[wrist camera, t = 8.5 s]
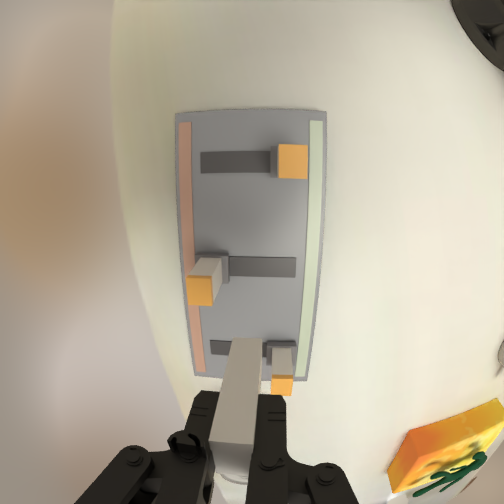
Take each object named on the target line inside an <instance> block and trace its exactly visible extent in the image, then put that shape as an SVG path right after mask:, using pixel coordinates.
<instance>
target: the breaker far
mask: <svg viewBox="0 0 504 504" xmlns="http://www.w3.org/2000/svg"><path fill="white" fill-rule="evenodd" d="M296 349H297V344H296V342H267V355H266V366H271V395H282V396H291V393H292V385H293V368H292V366H295V358H296Z"/></svg>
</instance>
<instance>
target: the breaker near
mask: <svg viewBox="0 0 504 504" xmlns="http://www.w3.org/2000/svg"><path fill="white" fill-rule="evenodd" d="M307 173H308V145H295V144H279V145H278V146H271V152H270V178H292V179H307Z"/></svg>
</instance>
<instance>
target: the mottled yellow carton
mask: <svg viewBox="0 0 504 504" xmlns="http://www.w3.org/2000/svg"><path fill="white" fill-rule="evenodd" d="M503 427H504V407H503V406H502V405H501V403H500V402H499V400H498V399H497V398H496V399H494V400H491V401H489V402H487V403H485V404H483V405H480V406H478V407H476V408H473V409H471V410H469V411H466V412H463V413H461V414H458V415H456V416H453V417H450V418H447V419H445V420H442V421H439V422H436V423H433V424H429V425H426V426H423V427H419V428H416V429H412V430H410V431H409V432H408V434H407V436H406V438H405V440H404V442H403V443H402V445H401V447H400V449H399V451H398V453H397V455H396V456H395V458H394V460H393V462H392V463H391V465H390V467H389V468H388V470H387V473H388V477H389V481H390V485H391V489H392V493H397V492H401V491H404V490H407V489H411V488H414V487H417V486H420V485H423V484H426V483H428V482H431V481H434V480H436V479H439V478H441V477H443V478H442V479H440V480H439V481H437V482H435V483H433V484H431V485H429V486H427V487H425V488H423V489H420V490H418V491H416V492H415V493H414V494H413V497H418V496H420V495H422V494H424V493H426V492H428V491H429V490H431V489H433V488H435V487H437V486H439V485H441V484H444V483H447V482H451V481H453V482H451V483H450V484H448V485H447V486H445V487H444V488H443V489H441V490H440V491H439V492H442V491H444V490H445V489H447V488H448V487H449V486H451V485H453V484H454V483H456V482H458V481H459V480H461V479H462V478H463V477H464V476H465V475H467V474H468V473H469V472H470V471H472V470H476V469H478V468H479V467H480V466H482V465H483V464H484V462H485V461H486V459H487V456H486V455H485V451H486V450H487V449H488V448H489V446H490V445H491V444H492V442H493V441H494V440H495V438H496V437H497V436H498V434H499V433H500V432H501V430H502V429H503ZM444 476H445V477H444ZM454 480H455V481H454Z"/></svg>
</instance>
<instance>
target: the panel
mask: <svg viewBox="0 0 504 504" xmlns="http://www.w3.org/2000/svg"><path fill="white" fill-rule="evenodd" d="M279 144H295V145H308V173H307V179H292V178H270V152H271V146H278V145H279ZM175 155H176V194H177V216H178V233H179V247H180V260H181V271H182V282H183V292H184V301H185V310H186V319H187V327H188V334H189V342H190V349H191V356H192V362H193V369H194V375H195V376H202V377H212V378H224V373H225V369H226V365H227V361H228V356H229V352H230V348H231V344H232V340H233V337H241V338H262V372H261V381H271V366H266V355H267V342H296V344H297V349H296V358H295V366H292V368H293V381H307V378H308V371H309V365H310V358H311V351H312V344H313V336H314V329H315V321H316V312H317V303H318V294H319V284H320V273H321V261H322V248H323V234H324V217H325V195H326V158H327V117H326V111H312V110H292V109H232V110H212V111H199V112H187V113H177V114H176V122H175ZM196 253H227V254H229V273H230V281H229V284H221V286H220V288H219V291H218V293H217V296H216V298H215V300H214V303H213V305H212V306H199V305H188V297H187V287H186V277H187V275H188V274H189V273H190V271H191V270H192V268H193V267H194V266H195V256H194V255H195V254H196Z"/></svg>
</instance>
